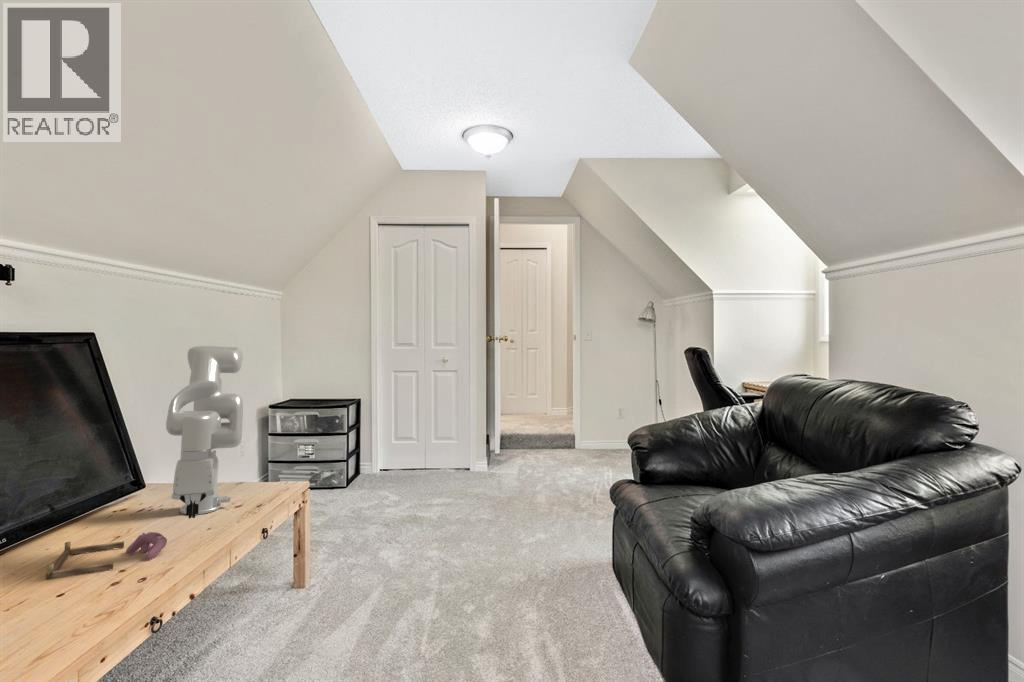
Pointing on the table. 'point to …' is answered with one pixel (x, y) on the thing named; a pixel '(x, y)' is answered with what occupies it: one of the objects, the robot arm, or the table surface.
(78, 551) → the frame
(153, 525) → the table surface
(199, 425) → the robot arm
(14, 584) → the table surface
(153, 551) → the video game controller
